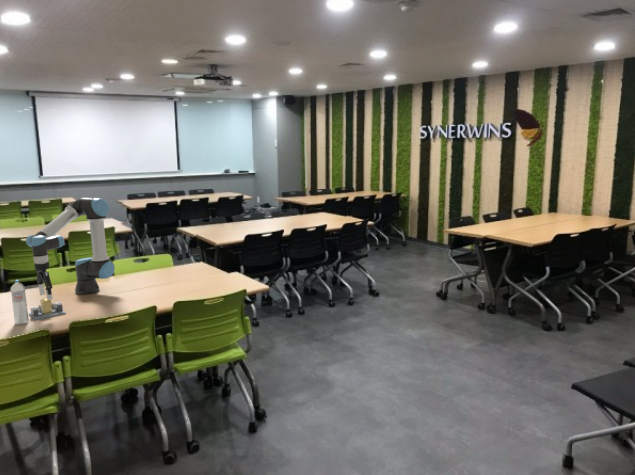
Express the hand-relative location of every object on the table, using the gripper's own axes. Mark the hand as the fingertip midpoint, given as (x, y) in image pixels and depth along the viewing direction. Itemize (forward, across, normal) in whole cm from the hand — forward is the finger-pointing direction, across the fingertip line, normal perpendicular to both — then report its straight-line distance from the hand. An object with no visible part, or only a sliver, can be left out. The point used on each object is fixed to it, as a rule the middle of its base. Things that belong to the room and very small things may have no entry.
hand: (46, 297), depth 297 cm
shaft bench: (+10, 0, -1) cm, 10 cm away
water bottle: (+10, +6, -16) cm, 20 cm away
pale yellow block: (+9, 0, -1) cm, 9 cm away
